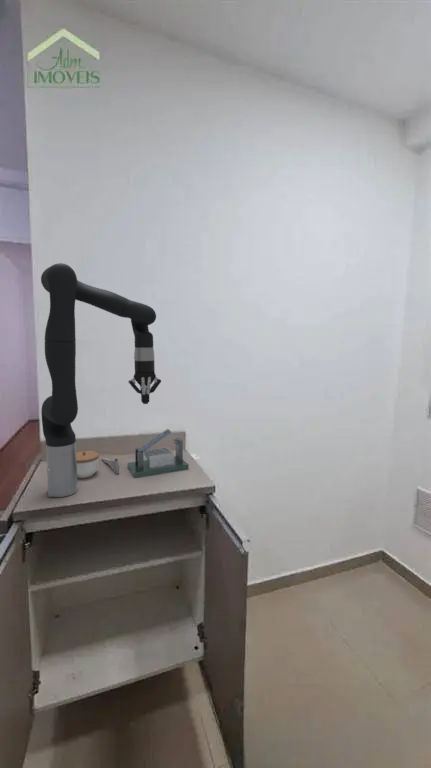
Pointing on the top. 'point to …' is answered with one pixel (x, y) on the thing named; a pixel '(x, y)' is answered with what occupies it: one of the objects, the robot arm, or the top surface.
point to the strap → (154, 440)
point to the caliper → (113, 464)
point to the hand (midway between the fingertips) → (145, 403)
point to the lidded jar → (86, 463)
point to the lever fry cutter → (158, 461)
